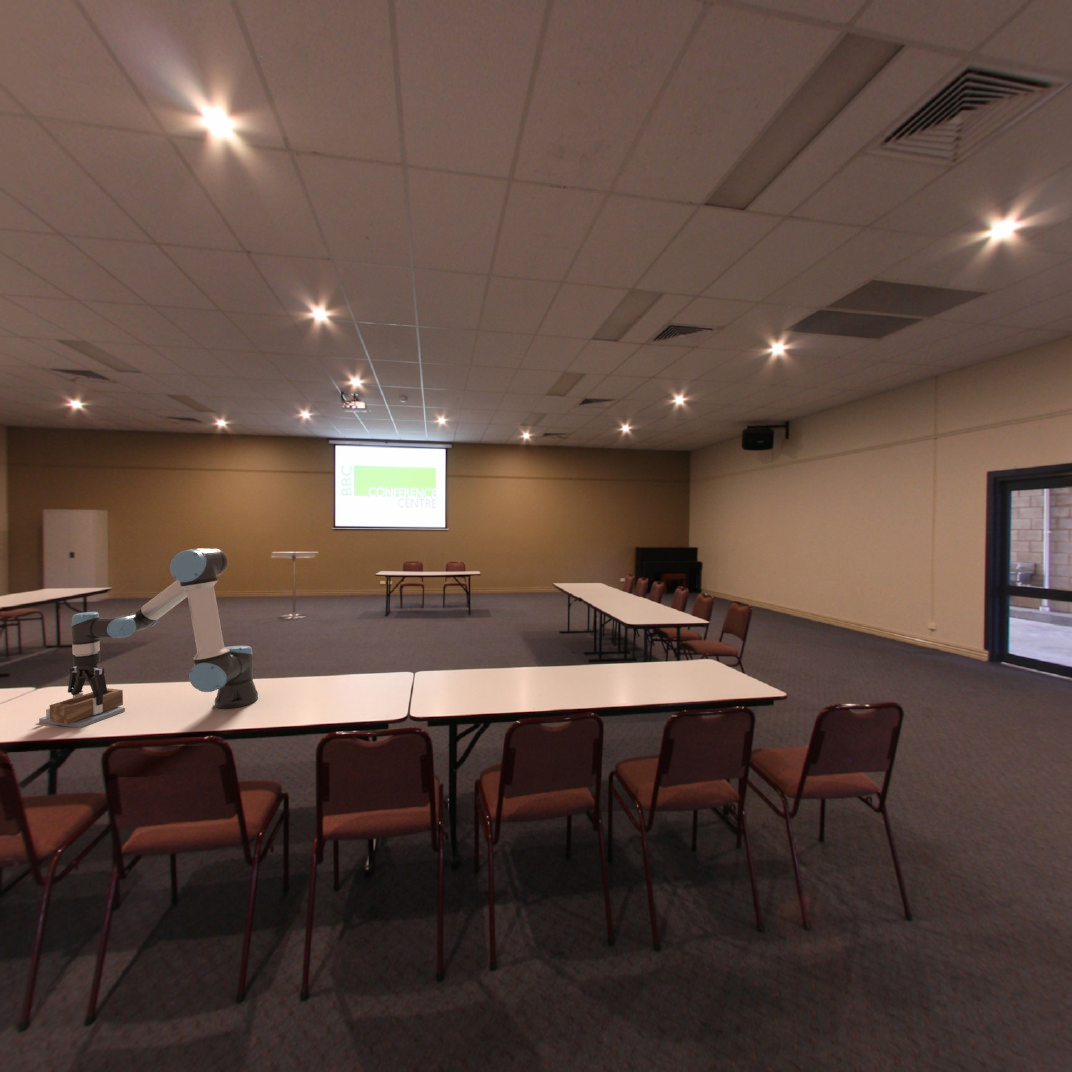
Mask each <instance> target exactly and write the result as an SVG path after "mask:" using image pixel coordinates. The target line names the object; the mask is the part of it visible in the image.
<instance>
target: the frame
mask: <svg viewBox="0 0 1072 1072" xmlns="http://www.w3.org/2000/svg"><path fill="white" fill-rule="evenodd" d="M107 691H108V693H107V694H105V695H103V704H102V705H103V712H104V711H107V710H110V709H113V708H116V707H121V706H124V694H123V693H124V690H123V689H118V688H109V687H107ZM103 692H104V691H103ZM92 697H94V694H93V691H92V692H87V693H85V694H84V693H83V695H81V696H78V697H75V698H73V697H72V698H69V699H66V700H63V701H59V702H56V703H53V704H49V708H50V722H57V723H65V724H70V723H73V722H76V721H78V720H81V719H84V718H87V717H90V716H93V698H92Z"/></svg>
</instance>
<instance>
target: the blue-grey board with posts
mask: <svg viewBox="0 0 1072 1072" xmlns="http://www.w3.org/2000/svg"><path fill="white" fill-rule="evenodd" d="M45 712H46V713H45V716H42V717H40V718H38V722H39V723H40V724H49V725H56V726H62V727H69V728H78V729H79V728H80V729H81V728H83V727H86V726H89V725H91V724H95V723H97V722H100V721H102V720H106V719H108V718H111V717H113V716H117V715H120V714H123V713H124V712H126V708H125V707H123V706H122V707H121V706H118V707H116V708H113V709H110V710H107V711H104V712H101V713H99V714H96V715H93V716H90V717H87V718H84V719H81V720H78V721H76V722H73V723H70V724H65V723H57V722H50V707H49V708H46V709H45Z"/></svg>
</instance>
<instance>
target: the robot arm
mask: <svg viewBox="0 0 1072 1072" xmlns="http://www.w3.org/2000/svg"><path fill="white" fill-rule="evenodd" d="M228 566H229V558H228V556H227V554H226V553H225V551H222V550H221V549H220V548H216V547H205V548H204V547H203V548H190V549H186V550H182V551H180V552H178V553H176V554H175V555H174V557H173V558H172V560H171V561H170V564H169V571H170V574H171V576H172V577H173V578H174V579H175V581H173V582H172V583H171V584H169V586H168V585H167V587H166V588H165V589H163V590H162V591H161V592H159V593H158V594H156V596H154V597H153V598H151V599H150V600H148V601H147V602H146V603H145V604H143V605H142V606H141V607H139V608H138V609H137V610H136V611H134V612H130V613H128V614H122V615H119V616H114V617H101V616H100V613H99V612H97V611H86V612H79V613H75V614H73V615H72V617H71V635H72V636H71V637H72V638H71V640H72V642H71V643H72V645H71V646H72V647H71V648H72V655H73V656H72V666H73V667H69V681H68V687H67V693H68V694H70V693H71V695H72V698H75V697H78V696H81V695H84V693H83V692H84V691H83V688H84V685H85V682H88V683H89V686H90V688H91V691H92V692H93V694H94V697H92V698H93V715H96V714H99V713H101V712H103V705H102V704H103V695H105V694H107V693H108V691H107V688H108V686H107V683H106V678H105V668H104V667H102V668H99V667H98V663H100V662H101V652H100V651H101V649H100V648H101V644H100V643H101V642H100V639H104V638H105V639H121V638H128V637H131V636H132V635H133V634H134V633H135V632H139V631H143V630H147V629H150V628H152V627H154V626H155V625H156V624H157V623H158V622H159V620H160V618H161V617H163V616H164V615H165V614H167V613H168V612H169V611H171V610H172V609H173V608H174V607H176V606H177V605H179V604H180V603H181V602H182V601H184V600H185V599H187V602H188V606H189V607H188V608H189V613H190V617H191V618H190V619H191V624H192V629H193V635H194V640H195V646H196V654H195V655H194V657H193V658H192V659H193V665H194V666H193V667H192V668H191V670H190V671H189V674H188V679H189V682H190V684H191V686H192V687H193V688H195V689H196V690H198V691H199V692H202V693H203V692H204V693H211V692H215V691H217V693H216V697H215V699H214V707H215V708H216V709H236V708H241V707H244V706H248V705H251V704H253V703H255V702H256V701H258V699H259V692H258V690H257V688H256V685H255V683H254V679H253V676H254V675H253V672H254V670H253V669H254V668H253V667H254V665H253V663H254V662H253V659H254V658H253V657H254V653H253V648H252V647H251V646H250V645H232V646H225V643H224V638H223V632H222V626H221V619H220V615H219V614H220V613H219V609H218V608H219V607H218V603H217V597H216V590H215V585H217V583H218V582H219V580H218V577H220V576H221V575H223V574H224V572H225V571H226V570H227V568H228ZM103 691H104V692H103Z"/></svg>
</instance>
